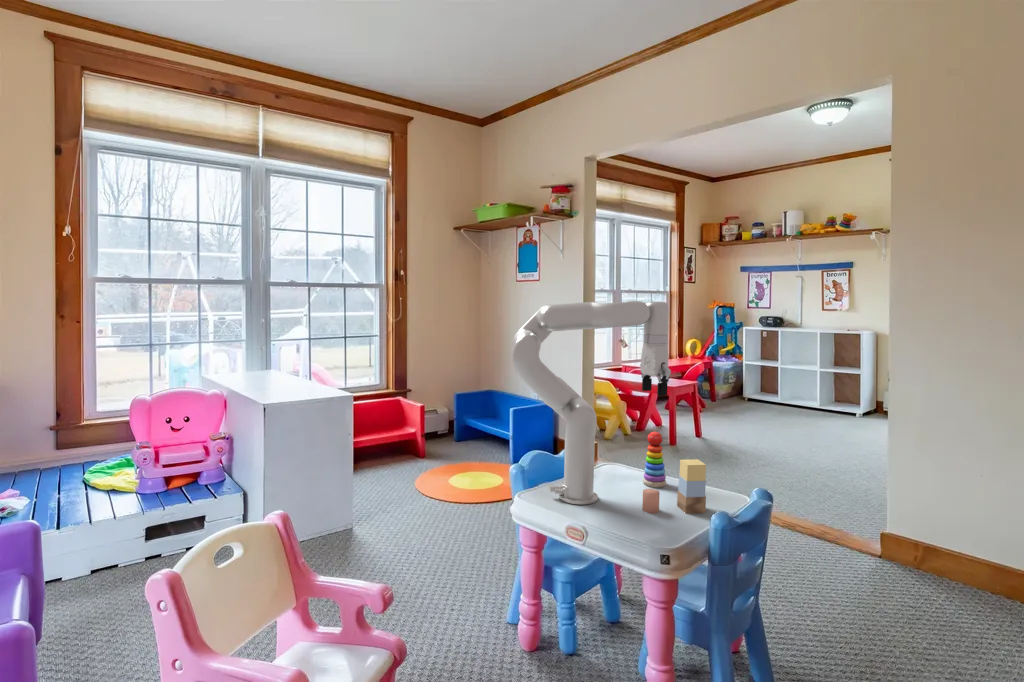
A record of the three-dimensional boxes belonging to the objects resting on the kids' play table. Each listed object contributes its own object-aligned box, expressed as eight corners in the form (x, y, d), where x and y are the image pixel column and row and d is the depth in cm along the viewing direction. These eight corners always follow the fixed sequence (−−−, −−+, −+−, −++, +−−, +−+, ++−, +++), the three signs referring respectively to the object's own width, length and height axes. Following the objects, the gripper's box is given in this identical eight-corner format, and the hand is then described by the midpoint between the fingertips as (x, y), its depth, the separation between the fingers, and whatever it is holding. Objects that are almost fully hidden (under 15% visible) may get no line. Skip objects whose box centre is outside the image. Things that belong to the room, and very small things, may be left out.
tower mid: (686, 497, 179) (686, 481, 178) (678, 490, 185) (679, 475, 184) (705, 496, 180) (705, 480, 179) (696, 490, 185) (697, 474, 185)
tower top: (687, 481, 179) (687, 465, 178) (679, 475, 184) (680, 459, 184) (705, 480, 179) (705, 464, 179) (697, 474, 185) (697, 459, 185)
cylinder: (645, 513, 178) (646, 494, 178) (640, 507, 183) (640, 488, 183) (661, 513, 179) (662, 494, 178) (655, 507, 184) (656, 488, 183)
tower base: (685, 513, 179) (685, 497, 179) (677, 506, 185) (677, 490, 185) (705, 513, 180) (706, 497, 179) (696, 505, 186) (697, 490, 186)
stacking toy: (664, 481, 210) (666, 429, 208) (667, 488, 202) (669, 435, 200) (641, 480, 210) (643, 429, 209) (644, 487, 202) (646, 434, 201)
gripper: (632, 338, 195) (631, 389, 197) (659, 342, 179) (657, 398, 180) (652, 338, 197) (651, 388, 199) (680, 342, 181) (679, 397, 182)
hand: (654, 393), depth 190 cm, fingers open, 9 cm apart
